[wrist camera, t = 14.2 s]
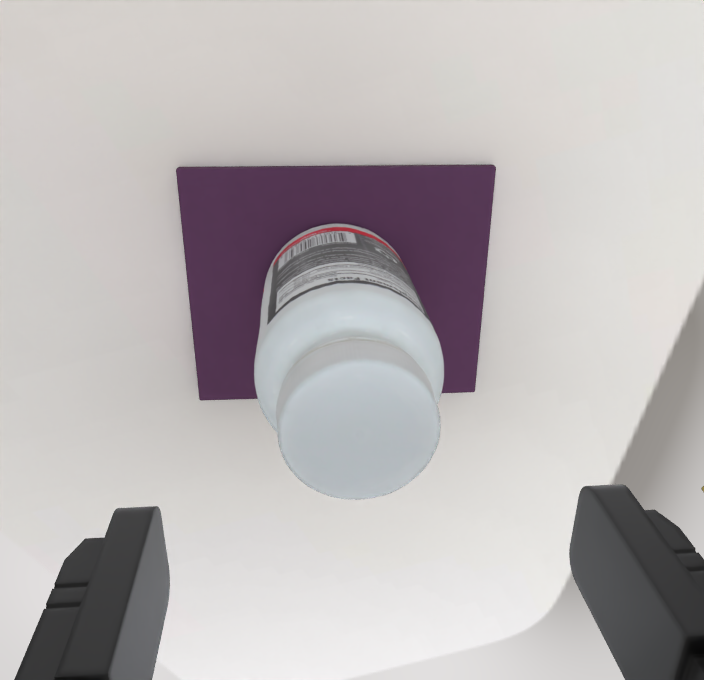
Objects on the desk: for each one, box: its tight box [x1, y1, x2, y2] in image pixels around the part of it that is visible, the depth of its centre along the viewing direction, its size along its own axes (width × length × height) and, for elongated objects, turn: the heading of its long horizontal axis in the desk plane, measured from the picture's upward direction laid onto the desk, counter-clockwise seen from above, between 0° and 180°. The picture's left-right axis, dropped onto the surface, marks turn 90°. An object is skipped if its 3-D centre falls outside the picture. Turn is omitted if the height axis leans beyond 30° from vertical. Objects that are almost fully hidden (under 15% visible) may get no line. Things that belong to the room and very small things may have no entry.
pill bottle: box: [254, 223, 444, 500], centre depth 21 cm, size 5×5×10 cm
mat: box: [176, 165, 496, 400], centre depth 25 cm, size 11×9×1 cm
